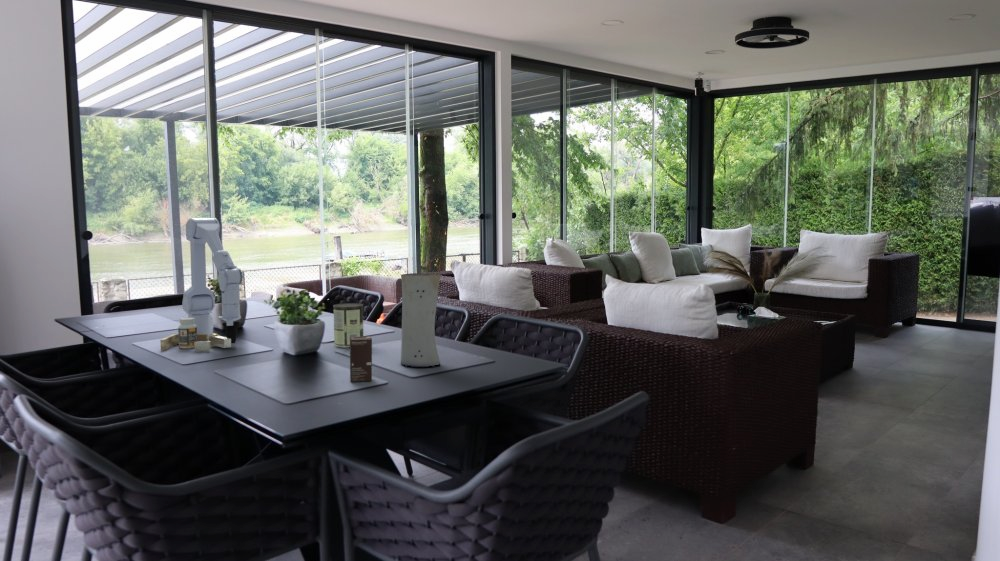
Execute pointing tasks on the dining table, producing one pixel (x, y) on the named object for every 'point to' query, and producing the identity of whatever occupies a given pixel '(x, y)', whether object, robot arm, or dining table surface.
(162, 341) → the oak jamb corner
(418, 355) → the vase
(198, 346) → the bracket
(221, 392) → the dining table surface
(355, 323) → the coffee can
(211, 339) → the bar
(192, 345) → the pill bottle
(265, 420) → the dining table surface
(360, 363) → the box
